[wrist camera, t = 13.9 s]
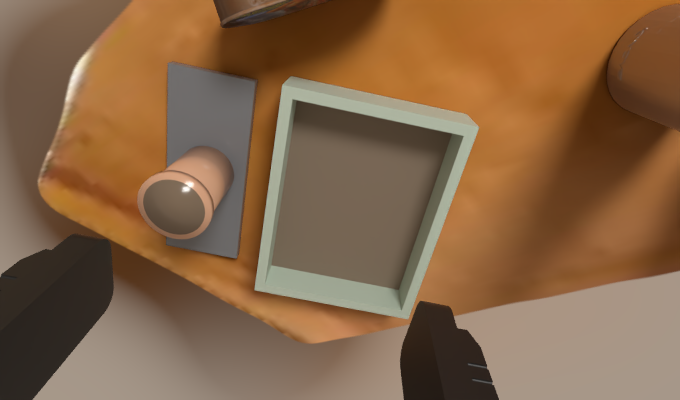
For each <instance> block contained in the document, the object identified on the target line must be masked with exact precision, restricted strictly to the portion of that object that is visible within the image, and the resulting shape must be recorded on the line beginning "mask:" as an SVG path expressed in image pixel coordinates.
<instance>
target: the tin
mask: <svg viewBox="0 0 680 400" xmlns="http://www.w3.org/2000/svg"><path fill="white" fill-rule="evenodd" d="M213 1H214V4H215V7H216V10H217V13H218V15H219V18H220V21H221V27H222V28H232V27H239V26H245V25H250V24H255V23H260V22H263V21H267V20H270V19H273V18H277V17H280V16H284V15H287V14H290V13H293V12H296V11H299V10H302V9H306V8H309V7H312V6H315V5H318V4H321V3H325V2H328V1H331V0H213Z"/></svg>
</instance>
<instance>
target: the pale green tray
mask: <svg viewBox="0 0 680 400" xmlns="http://www.w3.org/2000/svg"><path fill="white" fill-rule="evenodd" d="M478 129H479V127H478V126H477V124H476V123H475V122H474V121H473V120H472V119H471V118H470V117H469V116H468V115H467V114H464V113H459V112H454V111H450V110H445V109H441V108H436V107H431V106H427V105H422V104H418V103H413V102H408V101H404V100H399V99H395V98H390V97H385V96H381V95H376V94H372V93H367V92H362V91H358V90H353V89H348V88H344V87H339V86H335V85H330V84H325V83H321V82H316V81H312V80H307V79H302V78H298V77H293V76H290V77H289V78H288V79H287V80H286V81H285V83H284V84H283V85H282V91H281V98H280V106H279V113H278V121H277V128H276V135H275V143H274V150H273V157H272V165H271V172H270V179H269V187H268V194H267V202H266V209H265V216H264V224H263V231H262V238H261V246H260V253H259V260H258V268H257V275H256V282H255V290H256V291H261V292H267V293H272V294H277V295H282V296H288V297H293V298H298V299H304V300H309V301H314V302H319V303H325V304H330V305H335V306H340V307H346V308H351V309H356V310H362V311H367V312H372V313H377V314H383V315H388V316H393V317H398V318H404V319H408V318H409V316H410V313H411V310H412V308H413V305H414V302H415V299H416V297H417V294H418V291H419V289H420V286H421V283H422V280H423V278H424V275H425V272H426V270H427V267H428V264H429V262H430V259H431V256H432V253H433V251H434V248H435V245H436V243H437V240H438V237H439V235H440V232H441V229H442V226H443V224H444V221H445V218H446V216H447V213H448V210H449V207H450V205H451V202H452V199H453V197H454V194H455V191H456V189H457V186H458V183H459V180H460V178H461V175H462V172H463V170H464V167H465V164H466V162H467V159H468V156H469V153H470V151H471V148H472V145H473V143H474V140H475V137H476V135H477V132H478Z"/></svg>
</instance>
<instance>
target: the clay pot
mask: <svg viewBox="0 0 680 400" xmlns="http://www.w3.org/2000/svg"><path fill="white" fill-rule="evenodd" d="M233 181H234V170H233V167H232V164H231V162H230V161H229V159H228V158H227V157H226V156H225V155H224V154H223V153H222V152H220V151H219V150H217V149H215V148H212V147H209V146H196V147H193V148H191V149H189V150H188V151H186V152H185V153H184V154H183V155H182V156H181V157H179V158H178V159H177V160H176V161H175V162H174V163H172V164H171V165H170V166H169V167H168V168H167V169H165V170H164V171H161V172H158V173H156V174H154V175H153V176H151V177H150V178H149V179H148V180H147V181H145V182H144V183H143V185H142V186H141V188H140V190H139V192H138V199H137V201H138V207H139V211H140V213H141V215H142V217H143V218H144V220H145V221H146V222H147V224H148V225H149V226H150V227H151V228H153V229H154V230H155V231H157V232H158V233H160V234H162V235H164V236H167V237H170V238H174V239H189V238H193V237H196V236H198V235H199V234H201V233H202V232H203V231H204V230H205V229H206V228H207V226H208V225H209V223H210V222H211V220H212V218H213V214H214V210H215V209H216V207H217V206H218V204H219V203H220V202H221V200H222V199H223V197H224V196H225V195H226V193H227V192H228V190H229V189H230V187H231V186H232V184H233Z"/></svg>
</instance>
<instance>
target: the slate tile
mask: <svg viewBox="0 0 680 400" xmlns="http://www.w3.org/2000/svg"><path fill="white" fill-rule="evenodd" d="M257 82H258V80H256V79H251V78H247V77H242V76H237V75H233V74H228V73H224V72H219V71H214V70H210V69H205V68H200V67H196V66H191V65H186V64H182V63H177V62H169V63H168V112H167V168H168V167H169V166H170V165H171V164H172V163H174V162H175V161H176V160H177V159H178V158H179V157H181V156H182V155H183V154H184V153H185V152H186V151H188V150H189V149H191V148H193V147H196V146H209V147H212V148H215V149H217V150H219V151H220V152H222V153H223V154H224V155H225V156H226V157H227V158H228V159H229V161H230V162H231V164H232V167H233V170H234V181H233V184H232V186H231V187H230V189H229V190H228V192H227V193H226V195H225V196H224V197H223V199H222V200H221V202H220V203H219V204H218V206H217V207H216V209H215V210H214V214H213V218H212V220H211V222H210V223H209V225H208V226H207V228H206V229H205V230H204V231H203V232H202V233H201V234H199V235H198V236H196V237H193V238H189V239H174V238H170V237H167V236H166V245H169V246H174V247H179V248H184V249H189V250H195V251H200V252H205V253H210V254H215V255H220V256H226V257H231V258H236V259H237V257H238V255H239V249H240V239H241V230H242V221H243V212H244V202H245V193H246V184H247V175H248V165H249V156H250V147H251V138H252V128H253V119H254V110H255V101H256V92H257Z"/></svg>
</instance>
